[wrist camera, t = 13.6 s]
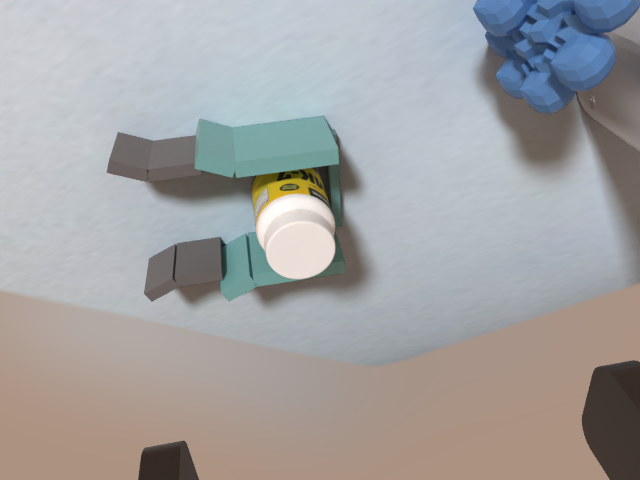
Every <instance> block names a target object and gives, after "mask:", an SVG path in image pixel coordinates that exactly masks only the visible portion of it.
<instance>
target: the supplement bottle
mask: <svg viewBox="0 0 640 480" xmlns="http://www.w3.org/2000/svg"><path fill="white" fill-rule="evenodd" d="M252 197H253V207H254V217H255V225H256V234H257V238H258V241H259V243H260V245H261V247H262V248H263V249H264V251H265V253H266V258H267V261H268V263H269V265H270V266H271V268H272V269H273V270H274V271H275V272H276V273H278V274H280V275H281V276H283V277H286V278H290V279H306V278H310V277H312V276H315V275H317V274H319V273H321V272H322V271H324V270H325V269H326V268H327V267H328V266H329V264H330V263H331V261H332V260H333V257H334V254H335V241H334V233H335V219H334V215H333V212H332V210H331V207H330V204H329V201H328V197H327V195H326V192H325V189H324V186H323V183H322V179H321V177H320V174H319V172H318V170H317V168H316V167H313V168H306V169H299V170H292V171H284V172H277V173H270V174H262V175H255V176H253V179H252Z"/></svg>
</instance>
